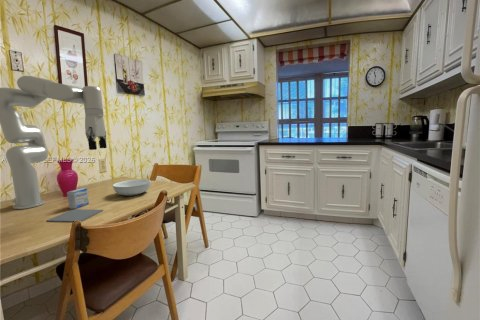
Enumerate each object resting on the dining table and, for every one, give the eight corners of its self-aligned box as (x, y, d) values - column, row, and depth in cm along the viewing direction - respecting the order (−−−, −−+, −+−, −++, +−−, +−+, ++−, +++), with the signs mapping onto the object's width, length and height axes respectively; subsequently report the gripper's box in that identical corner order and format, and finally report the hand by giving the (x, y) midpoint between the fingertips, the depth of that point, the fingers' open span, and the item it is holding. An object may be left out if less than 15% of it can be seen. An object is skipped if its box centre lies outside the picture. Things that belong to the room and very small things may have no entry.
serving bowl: (155, 188, 154) (154, 178, 153) (144, 197, 133) (143, 186, 132) (122, 190, 152) (121, 179, 151) (106, 199, 132) (105, 187, 131)
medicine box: (76, 209, 117) (74, 192, 115) (68, 208, 118) (66, 191, 116) (89, 204, 124) (87, 188, 123) (82, 203, 125) (80, 187, 124)
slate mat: (46, 221, 101) (46, 220, 101) (73, 210, 115) (73, 209, 115) (80, 222, 99) (80, 221, 99) (103, 210, 113) (103, 209, 113)
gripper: (95, 114, 121) (99, 147, 124) (75, 112, 104) (80, 150, 106) (110, 114, 122) (114, 147, 124) (93, 111, 105) (97, 150, 107)
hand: (98, 148), depth 115 cm, fingers open, 9 cm apart
